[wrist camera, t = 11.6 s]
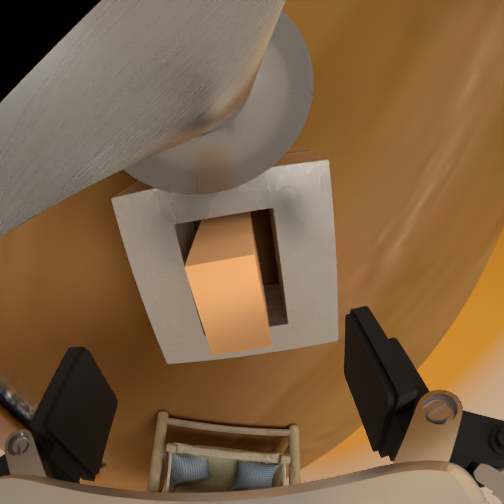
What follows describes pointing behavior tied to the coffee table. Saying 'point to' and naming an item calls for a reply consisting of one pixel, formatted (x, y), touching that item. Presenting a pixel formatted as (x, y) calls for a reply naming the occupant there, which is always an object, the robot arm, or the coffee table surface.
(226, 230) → the orange rectangular block
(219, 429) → the swing bench
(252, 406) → the coffee table surface
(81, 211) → the coffee table surface
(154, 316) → the bracket head
